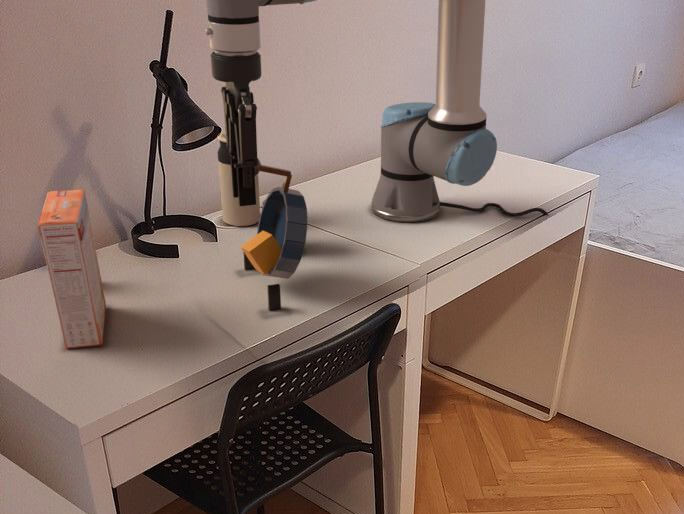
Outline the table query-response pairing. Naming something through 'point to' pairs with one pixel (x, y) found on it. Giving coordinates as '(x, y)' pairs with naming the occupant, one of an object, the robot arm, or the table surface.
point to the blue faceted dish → (284, 222)
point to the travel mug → (230, 205)
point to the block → (262, 252)
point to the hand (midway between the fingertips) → (244, 200)
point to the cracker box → (73, 267)
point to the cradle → (273, 290)
